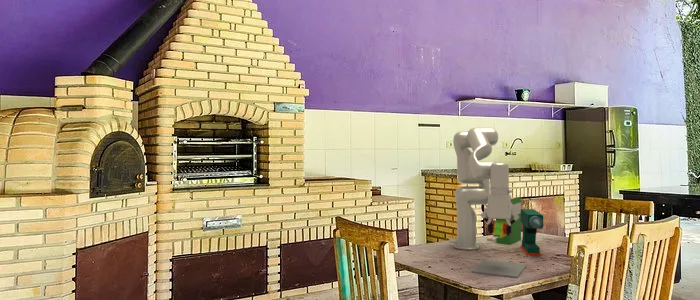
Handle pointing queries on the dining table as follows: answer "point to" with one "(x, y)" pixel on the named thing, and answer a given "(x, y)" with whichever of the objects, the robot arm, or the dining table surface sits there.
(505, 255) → the dining table surface
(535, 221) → the power tool
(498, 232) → the toy measuring tape
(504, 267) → the mat
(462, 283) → the dining table surface
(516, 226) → the hardback book
